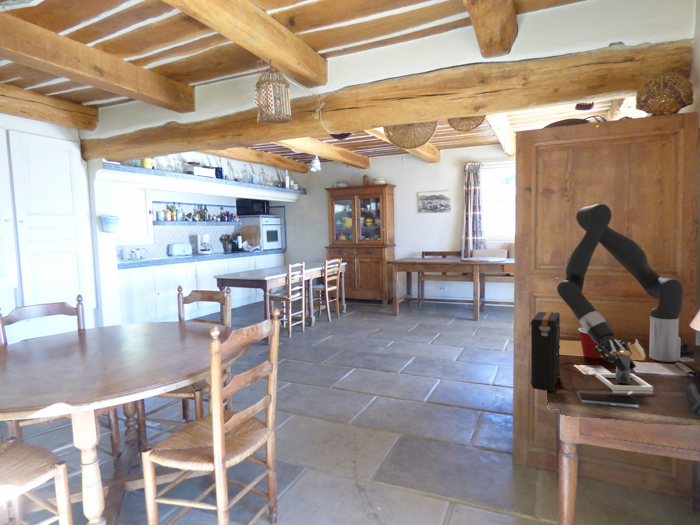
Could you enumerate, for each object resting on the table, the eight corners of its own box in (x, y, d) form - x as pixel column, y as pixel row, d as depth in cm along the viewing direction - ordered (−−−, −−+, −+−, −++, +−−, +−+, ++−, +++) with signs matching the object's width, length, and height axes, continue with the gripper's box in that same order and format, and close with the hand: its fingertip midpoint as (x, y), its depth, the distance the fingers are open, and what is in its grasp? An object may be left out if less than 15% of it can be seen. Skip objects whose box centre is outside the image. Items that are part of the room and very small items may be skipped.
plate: (600, 367, 162) (600, 365, 162) (613, 377, 152) (613, 374, 152) (573, 367, 163) (573, 364, 163) (584, 376, 153) (584, 373, 153)
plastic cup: (612, 362, 167) (612, 333, 166) (582, 362, 169) (583, 333, 168) (601, 354, 178) (602, 327, 177) (574, 354, 180) (574, 326, 179)
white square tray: (632, 379, 149) (632, 373, 149) (652, 393, 137) (653, 386, 137) (595, 379, 151) (595, 373, 151) (612, 392, 138) (612, 386, 138)
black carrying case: (557, 394, 139) (557, 320, 137) (529, 389, 143) (529, 318, 141) (562, 379, 152) (562, 311, 150) (536, 375, 156) (536, 309, 154)
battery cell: (625, 377, 145) (626, 349, 145) (632, 381, 141) (632, 353, 141) (613, 377, 146) (614, 349, 145) (619, 381, 142) (620, 353, 141)
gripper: (589, 323, 146) (622, 367, 136) (616, 318, 152) (650, 360, 142) (575, 334, 152) (607, 377, 141) (602, 329, 157) (634, 371, 147)
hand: (628, 368), depth 142 cm, fingers open, 4 cm apart
